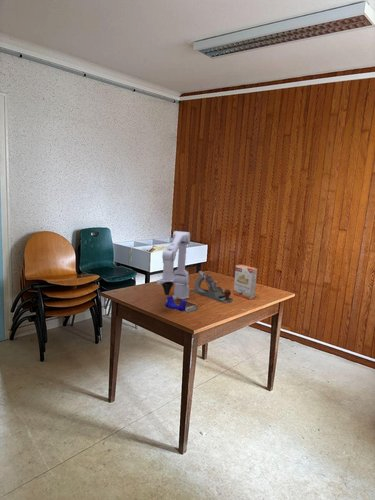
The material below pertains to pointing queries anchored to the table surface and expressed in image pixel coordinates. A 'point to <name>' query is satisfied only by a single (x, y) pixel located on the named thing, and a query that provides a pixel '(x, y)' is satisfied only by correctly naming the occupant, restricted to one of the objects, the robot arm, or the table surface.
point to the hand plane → (211, 289)
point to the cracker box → (245, 281)
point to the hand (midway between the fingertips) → (166, 294)
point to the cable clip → (172, 305)
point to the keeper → (187, 304)
